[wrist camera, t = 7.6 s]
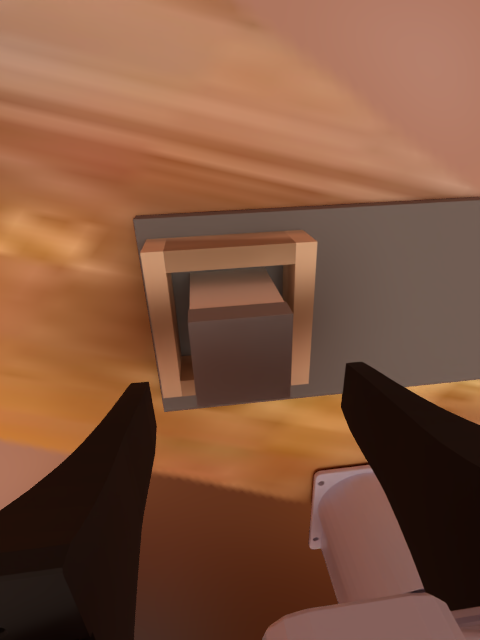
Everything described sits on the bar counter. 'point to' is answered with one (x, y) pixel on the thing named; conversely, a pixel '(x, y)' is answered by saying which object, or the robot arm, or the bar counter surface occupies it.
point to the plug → (239, 337)
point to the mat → (363, 286)
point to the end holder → (227, 253)
